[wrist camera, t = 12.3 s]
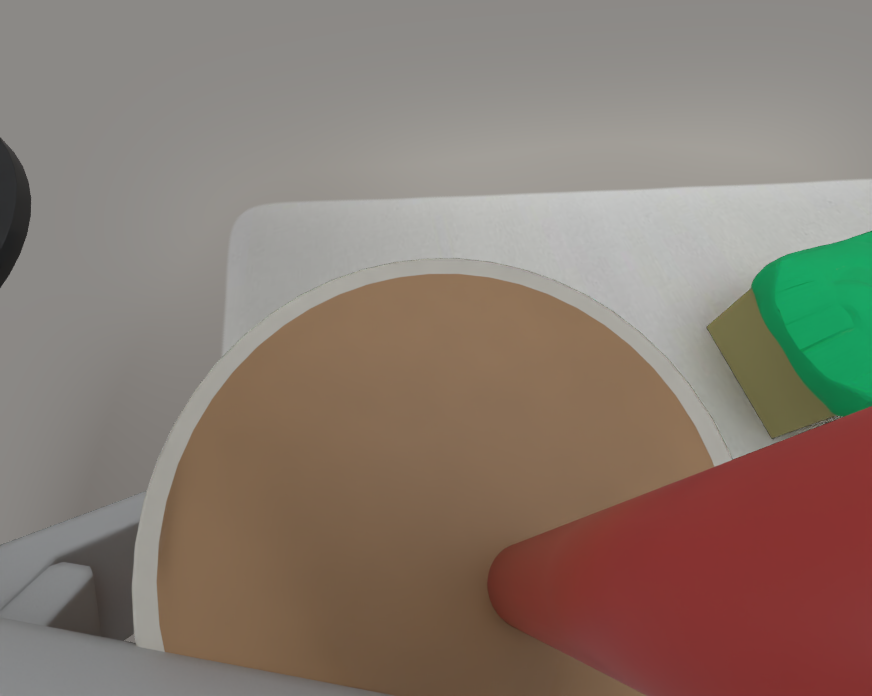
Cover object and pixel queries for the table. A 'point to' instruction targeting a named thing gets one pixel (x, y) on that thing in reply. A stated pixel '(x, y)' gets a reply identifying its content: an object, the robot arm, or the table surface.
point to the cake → (804, 336)
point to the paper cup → (496, 507)
